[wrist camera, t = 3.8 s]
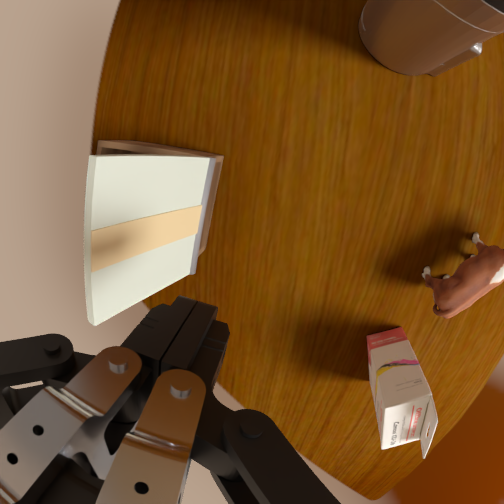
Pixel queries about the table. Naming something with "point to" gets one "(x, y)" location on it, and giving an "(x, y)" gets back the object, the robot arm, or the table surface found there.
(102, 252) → the lid
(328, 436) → the table surface
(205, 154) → the box
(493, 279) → the bull figurine
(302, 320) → the table surface
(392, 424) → the ink cartridge box
